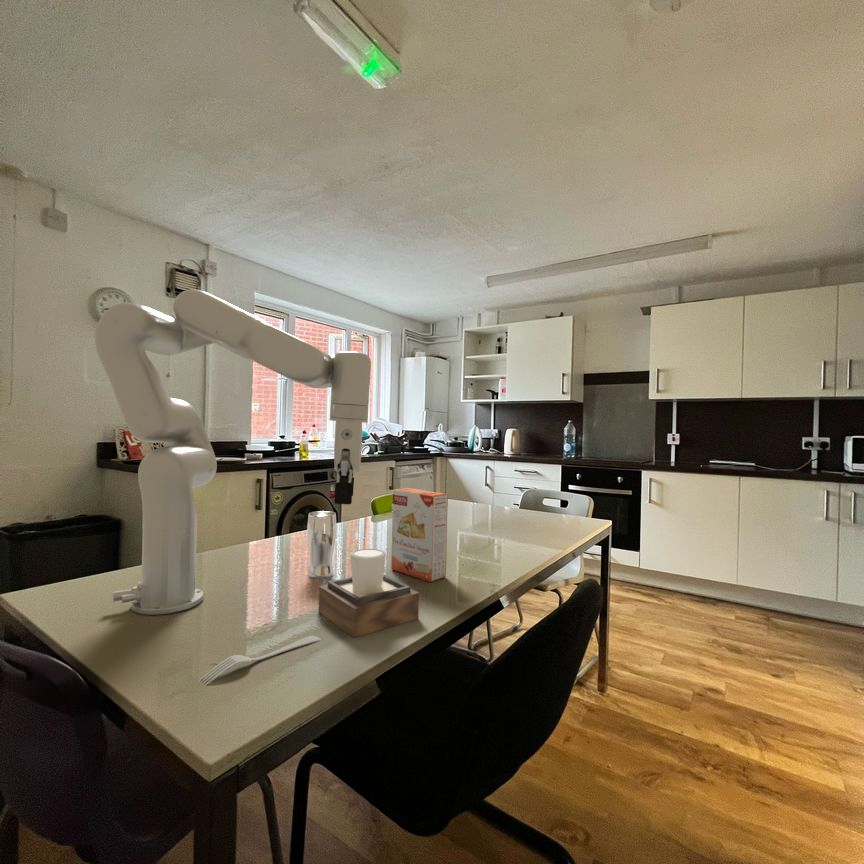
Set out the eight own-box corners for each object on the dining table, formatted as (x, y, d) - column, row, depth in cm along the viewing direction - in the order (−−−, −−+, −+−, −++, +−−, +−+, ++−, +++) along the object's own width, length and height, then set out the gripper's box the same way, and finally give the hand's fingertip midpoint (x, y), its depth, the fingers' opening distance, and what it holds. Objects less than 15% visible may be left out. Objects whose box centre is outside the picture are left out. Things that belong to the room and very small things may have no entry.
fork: (324, 655, 80) (326, 638, 80) (201, 692, 64) (203, 671, 64) (314, 650, 82) (316, 633, 82) (192, 684, 66) (195, 664, 66)
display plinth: (354, 637, 81) (354, 603, 81) (318, 611, 92) (319, 581, 92) (418, 618, 90) (419, 587, 90) (379, 596, 100) (379, 569, 100)
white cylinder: (342, 587, 90) (343, 551, 90) (370, 580, 95) (371, 546, 95) (363, 597, 86) (364, 559, 86) (392, 589, 90) (393, 553, 90)
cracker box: (389, 570, 119) (391, 488, 119) (406, 565, 124) (408, 486, 124) (430, 583, 110) (432, 495, 110) (446, 577, 115) (449, 492, 114)
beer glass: (299, 575, 113) (301, 514, 113) (319, 568, 119) (320, 510, 119) (322, 580, 110) (323, 517, 110) (341, 573, 116) (342, 512, 116)
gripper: (368, 414, 85) (362, 508, 85) (367, 416, 102) (363, 494, 103) (326, 412, 84) (320, 506, 84) (333, 414, 101) (328, 492, 102)
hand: (344, 499), depth 93 cm, fingers open, 9 cm apart
